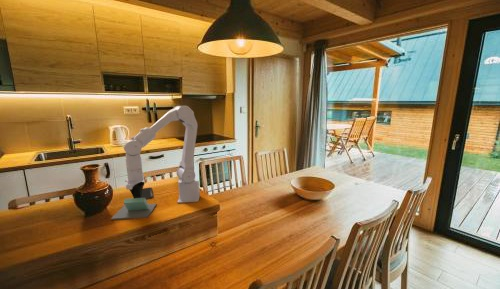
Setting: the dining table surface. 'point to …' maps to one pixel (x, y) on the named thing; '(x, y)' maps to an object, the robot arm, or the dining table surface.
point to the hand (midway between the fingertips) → (137, 199)
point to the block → (136, 204)
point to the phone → (147, 193)
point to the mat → (133, 213)
